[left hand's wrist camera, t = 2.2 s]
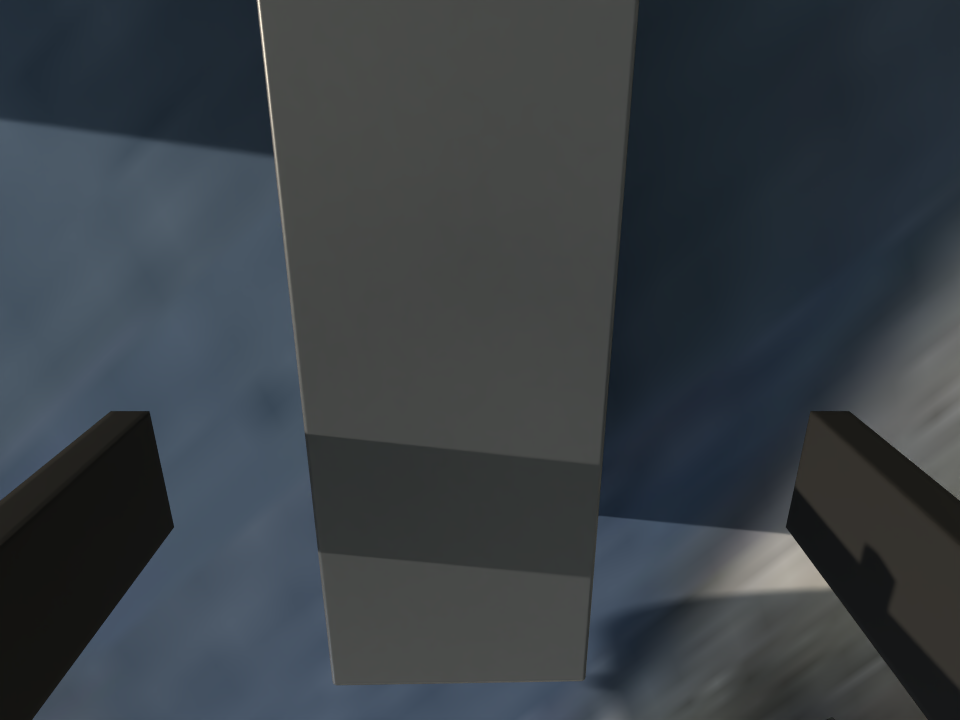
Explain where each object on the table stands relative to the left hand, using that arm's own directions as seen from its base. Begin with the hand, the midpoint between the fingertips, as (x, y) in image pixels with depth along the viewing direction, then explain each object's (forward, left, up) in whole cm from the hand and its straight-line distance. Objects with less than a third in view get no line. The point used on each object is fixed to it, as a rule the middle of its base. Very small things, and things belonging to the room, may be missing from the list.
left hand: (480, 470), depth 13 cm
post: (+15, +17, -8) cm, 24 cm away
